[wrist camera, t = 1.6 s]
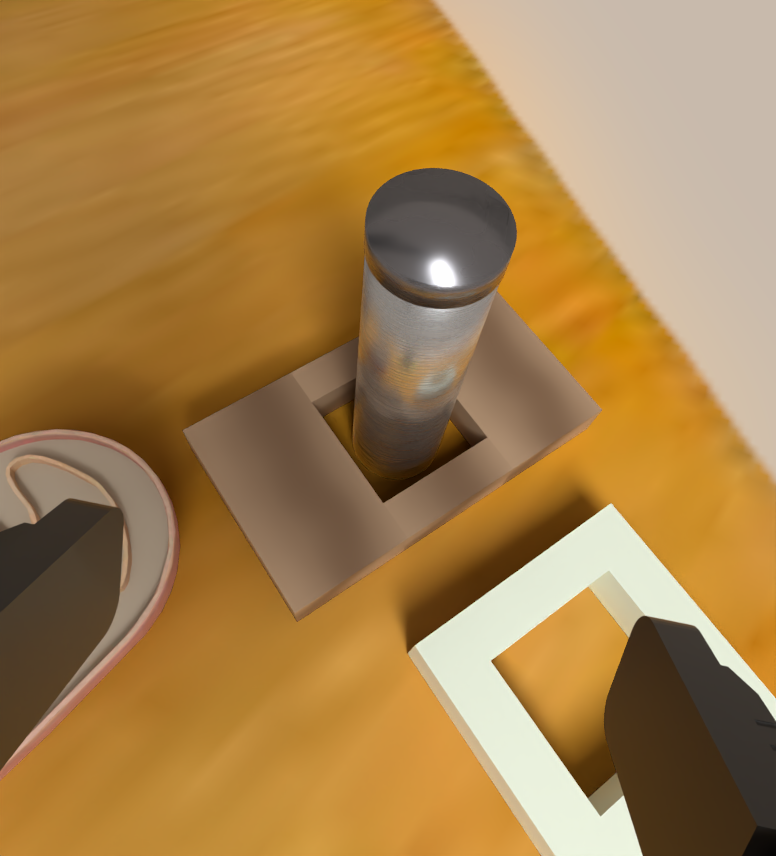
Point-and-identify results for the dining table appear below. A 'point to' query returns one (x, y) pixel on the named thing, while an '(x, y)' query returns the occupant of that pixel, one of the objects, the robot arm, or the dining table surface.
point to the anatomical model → (142, 539)
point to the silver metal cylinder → (423, 310)
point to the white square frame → (503, 713)
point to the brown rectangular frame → (346, 485)
